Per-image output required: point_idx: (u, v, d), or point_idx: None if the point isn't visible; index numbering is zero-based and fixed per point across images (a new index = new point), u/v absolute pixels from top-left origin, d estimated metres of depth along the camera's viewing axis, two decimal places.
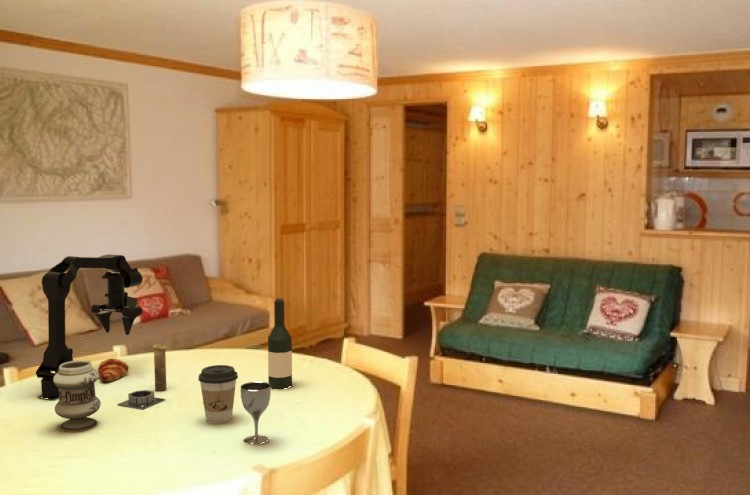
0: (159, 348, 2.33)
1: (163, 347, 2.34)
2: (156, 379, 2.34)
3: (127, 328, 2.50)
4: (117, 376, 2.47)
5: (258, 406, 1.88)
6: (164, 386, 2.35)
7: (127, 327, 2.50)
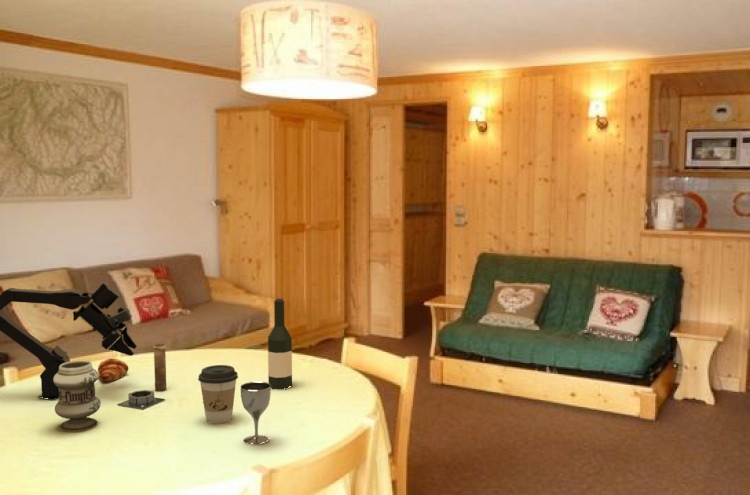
0: (159, 348, 2.33)
1: (163, 347, 2.34)
2: (156, 379, 2.34)
3: (123, 352, 2.27)
4: (117, 376, 2.47)
5: (258, 406, 1.88)
6: (164, 386, 2.35)
7: (123, 351, 2.27)
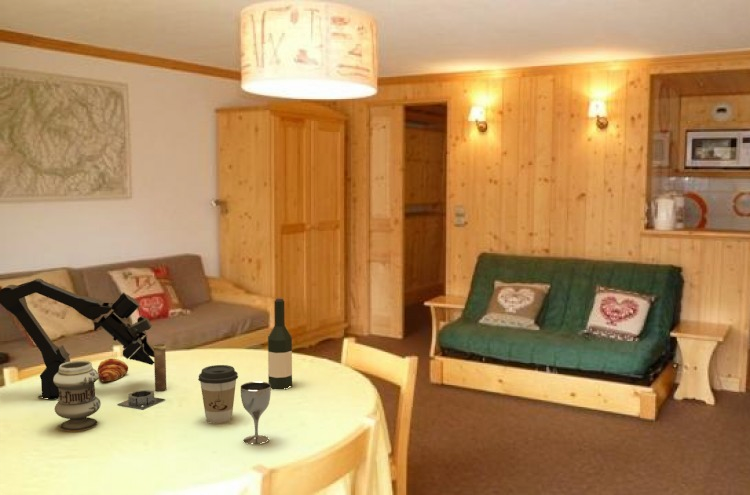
0: (159, 348, 2.33)
1: (163, 347, 2.34)
2: (156, 379, 2.34)
3: (144, 361, 2.29)
4: (116, 376, 2.47)
5: (258, 406, 1.88)
6: (164, 386, 2.35)
7: (143, 360, 2.29)
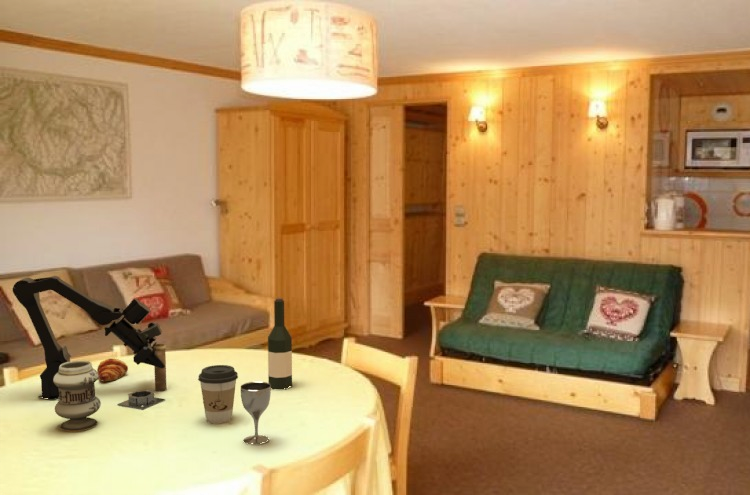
0: (159, 348, 2.33)
1: (163, 347, 2.34)
2: (156, 379, 2.34)
3: (155, 364, 2.32)
4: (116, 376, 2.47)
5: (258, 406, 1.88)
6: (164, 386, 2.35)
7: (154, 364, 2.32)
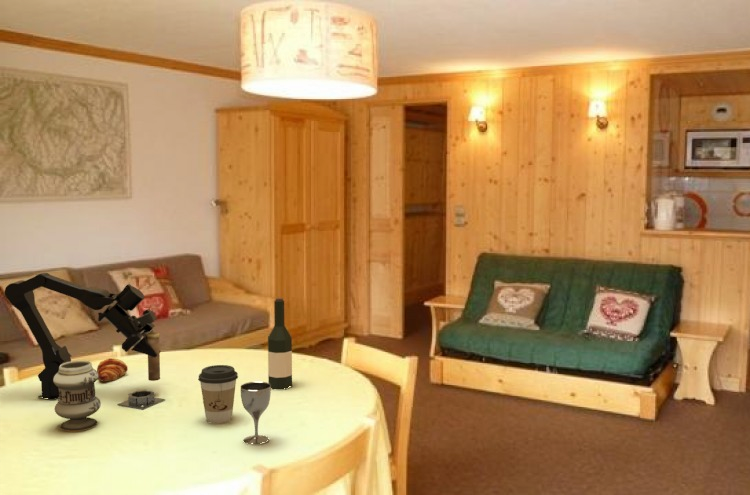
0: (152, 336, 2.27)
1: (156, 335, 2.27)
2: (149, 368, 2.28)
3: (147, 353, 2.26)
4: (115, 376, 2.47)
5: (258, 406, 1.88)
6: (157, 376, 2.29)
7: (146, 352, 2.26)
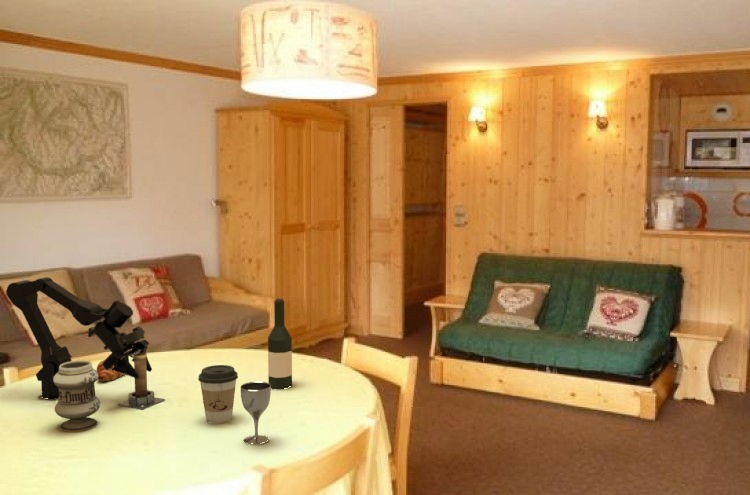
0: (137, 357, 2.20)
1: (141, 357, 2.20)
2: (135, 390, 2.22)
3: (128, 374, 2.18)
4: (114, 376, 2.47)
5: (258, 406, 1.88)
6: None
7: (128, 373, 2.18)
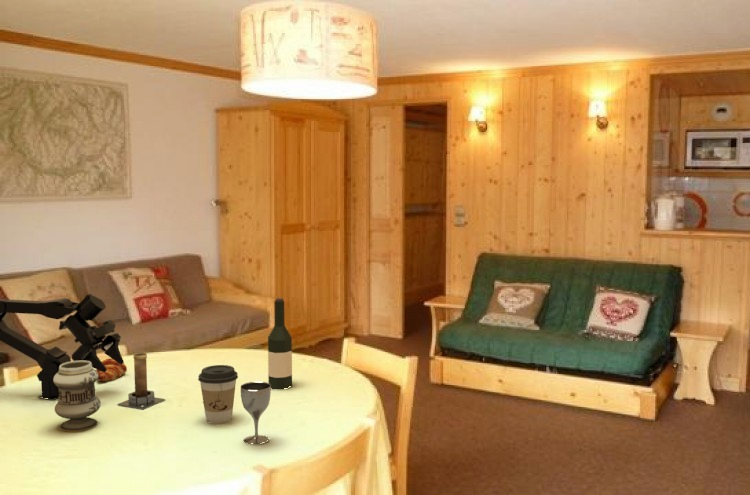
0: (137, 357, 2.20)
1: (141, 357, 2.20)
2: (135, 390, 2.22)
3: (96, 367, 2.20)
4: (114, 376, 2.47)
5: (258, 406, 1.88)
6: None
7: (95, 367, 2.20)
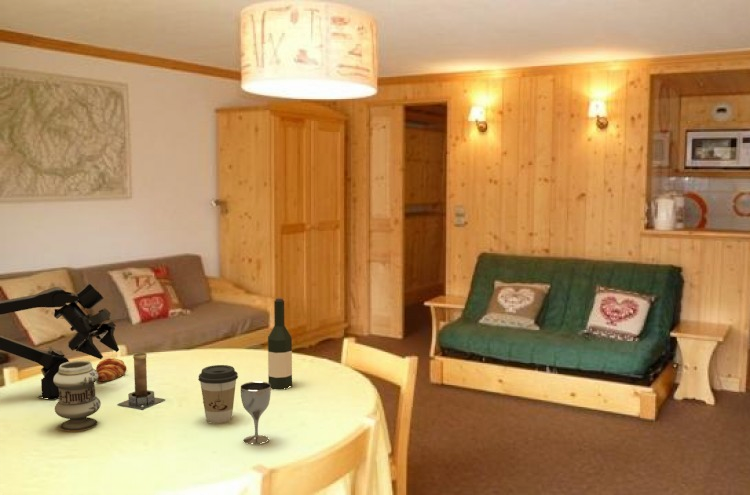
0: (137, 357, 2.20)
1: (141, 357, 2.20)
2: (135, 390, 2.22)
3: (92, 354, 2.23)
4: (113, 376, 2.47)
5: (258, 406, 1.88)
6: None
7: (91, 354, 2.23)
